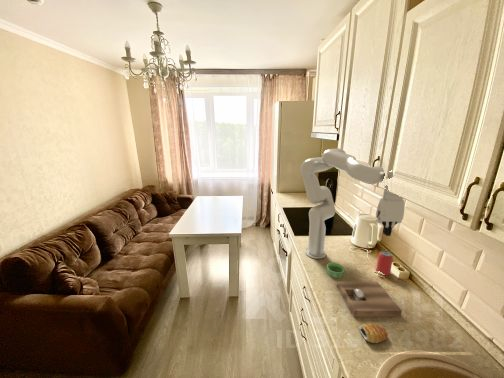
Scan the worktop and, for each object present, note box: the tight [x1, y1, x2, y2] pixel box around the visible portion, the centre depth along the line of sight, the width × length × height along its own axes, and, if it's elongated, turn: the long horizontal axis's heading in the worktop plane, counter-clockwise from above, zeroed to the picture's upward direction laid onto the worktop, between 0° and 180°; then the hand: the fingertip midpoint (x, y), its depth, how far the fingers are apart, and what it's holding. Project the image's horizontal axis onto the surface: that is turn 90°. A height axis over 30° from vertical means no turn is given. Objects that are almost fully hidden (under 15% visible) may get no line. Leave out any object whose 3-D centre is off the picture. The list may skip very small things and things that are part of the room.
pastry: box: [358, 323, 388, 344], centre depth 80 cm, size 9×7×4 cm
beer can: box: [375, 250, 394, 277], centre depth 116 cm, size 7×7×12 cm
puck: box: [352, 289, 365, 301], centre depth 99 cm, size 5×5×3 cm
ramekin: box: [326, 262, 345, 279], centre depth 116 cm, size 9×9×4 cm
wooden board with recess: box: [336, 280, 403, 318], centre depth 98 cm, size 18×20×3 cm
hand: (386, 234), depth 99 cm, fingers closed
